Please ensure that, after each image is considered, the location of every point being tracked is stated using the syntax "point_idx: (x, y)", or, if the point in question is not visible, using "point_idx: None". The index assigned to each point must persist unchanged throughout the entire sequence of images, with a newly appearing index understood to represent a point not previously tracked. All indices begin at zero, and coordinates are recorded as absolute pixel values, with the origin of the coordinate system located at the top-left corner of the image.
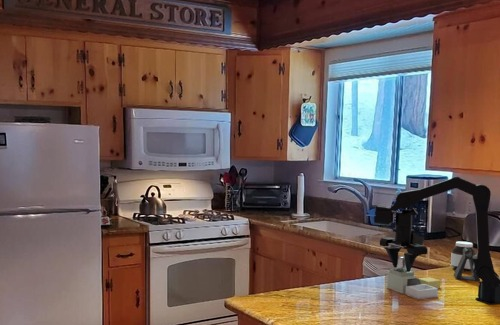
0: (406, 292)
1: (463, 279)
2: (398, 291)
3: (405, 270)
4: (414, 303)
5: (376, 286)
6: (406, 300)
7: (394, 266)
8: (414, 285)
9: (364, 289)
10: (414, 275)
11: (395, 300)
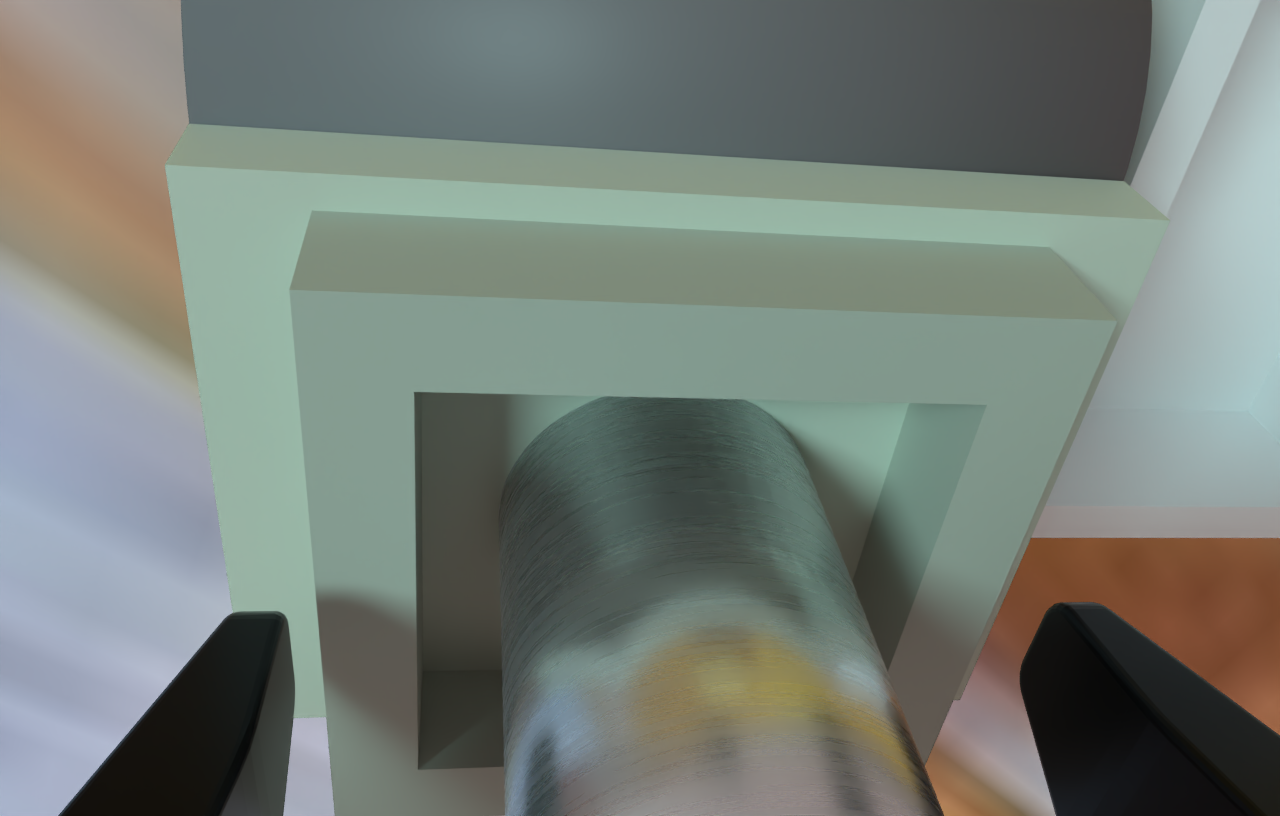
0: None
1: None
2: None
3: (850, 589)
4: (1274, 594)
5: (147, 527)
6: (1110, 601)
7: (287, 738)
8: None
9: (298, 789)
10: (1083, 243)
11: (994, 721)
